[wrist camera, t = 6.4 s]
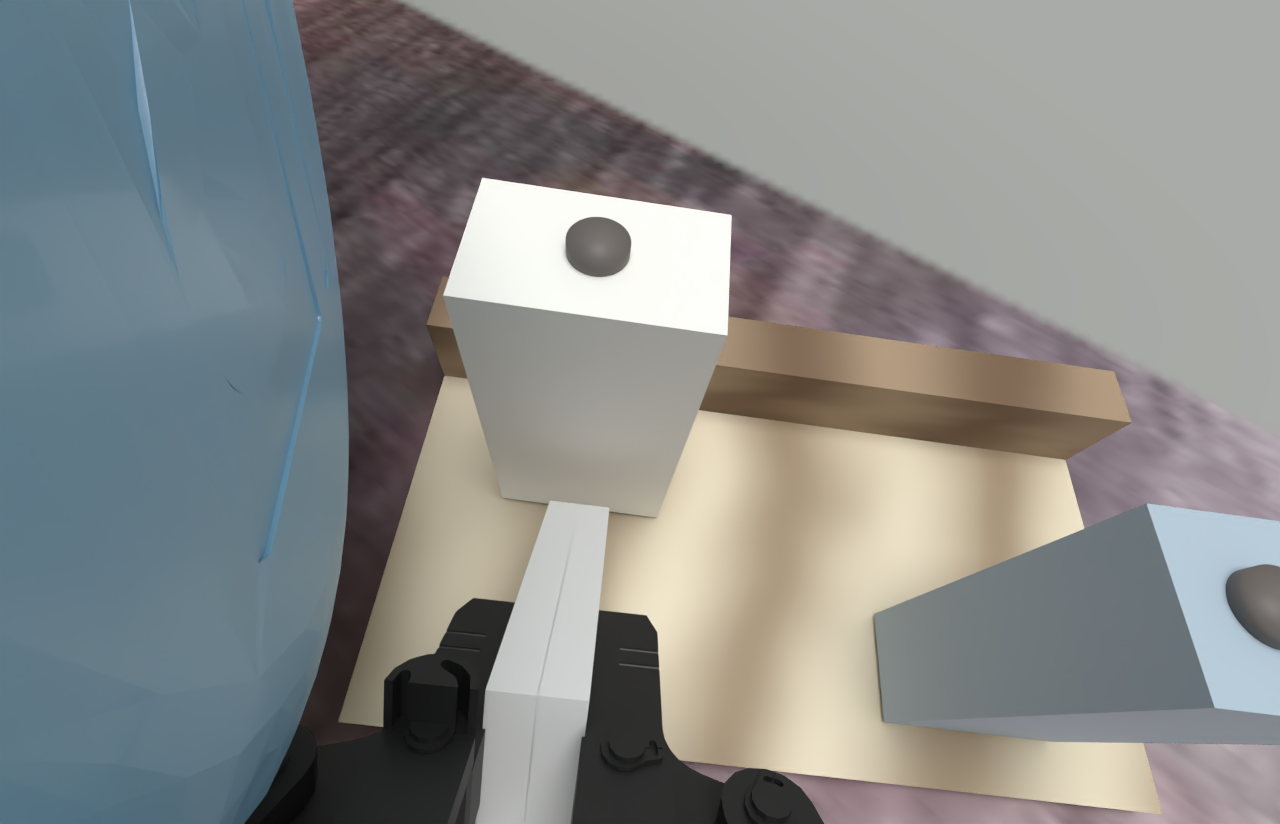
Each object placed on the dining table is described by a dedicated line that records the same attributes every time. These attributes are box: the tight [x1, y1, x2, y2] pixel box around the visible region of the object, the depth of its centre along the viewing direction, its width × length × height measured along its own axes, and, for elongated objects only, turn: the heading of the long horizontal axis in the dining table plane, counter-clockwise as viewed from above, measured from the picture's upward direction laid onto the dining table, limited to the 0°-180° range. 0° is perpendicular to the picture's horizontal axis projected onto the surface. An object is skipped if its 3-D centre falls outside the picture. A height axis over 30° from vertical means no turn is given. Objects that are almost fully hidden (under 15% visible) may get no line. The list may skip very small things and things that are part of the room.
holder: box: [338, 276, 1163, 814], centre depth 19 cm, size 23×13×4 cm, turn 84°
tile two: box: [874, 504, 1280, 745], centre depth 13 cm, size 5×3×10 cm, turn 84°
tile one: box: [443, 178, 731, 518], centre depth 15 cm, size 5×3×10 cm, turn 84°
